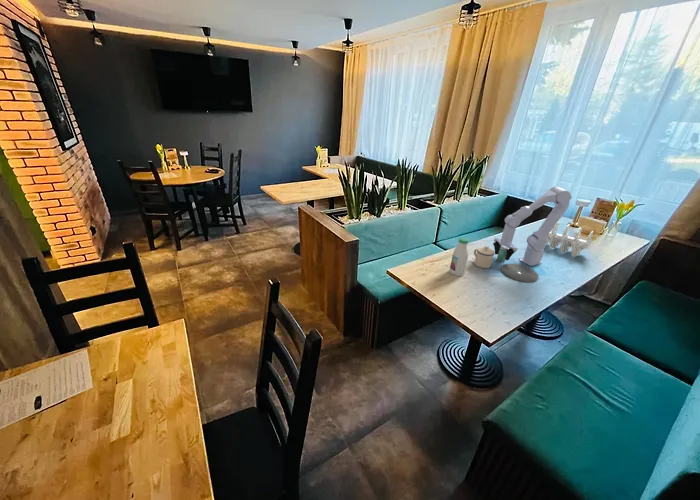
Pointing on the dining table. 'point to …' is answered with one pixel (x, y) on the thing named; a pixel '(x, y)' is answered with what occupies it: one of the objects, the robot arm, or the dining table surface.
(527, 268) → the slate plate
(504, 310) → the dining table surface
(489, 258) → the teacup with lid
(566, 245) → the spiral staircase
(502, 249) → the pepper shaker
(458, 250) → the milk bottle
